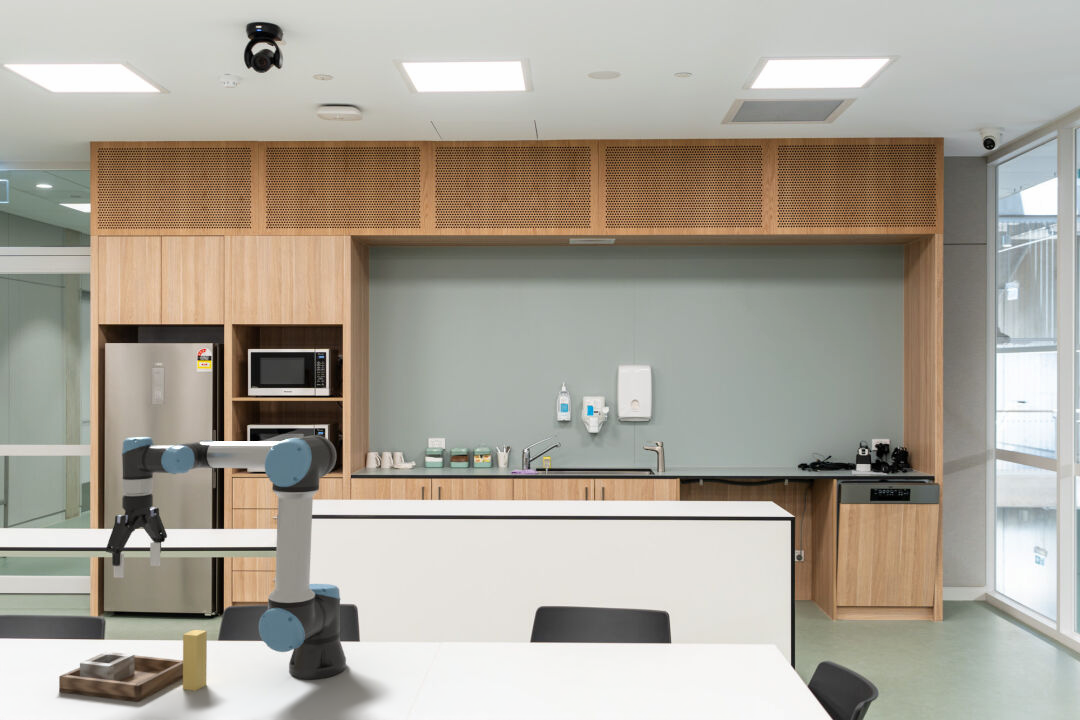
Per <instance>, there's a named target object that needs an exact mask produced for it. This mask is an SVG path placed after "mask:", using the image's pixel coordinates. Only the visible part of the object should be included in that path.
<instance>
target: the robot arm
mask: <svg viewBox="0 0 1080 720" xmlns="http://www.w3.org/2000/svg"><path fill="white" fill-rule="evenodd" d="M121 450H122V451H121V459H122V494H124V495H122V499H121V500H122V501H121V503H122V505H121V508H122V509H123V510H124V515H123V514H121V515H120V514H117V515H115V517H114V524H113V528H112V530H111V533H110V536H109V539H108V541H107V545H106V548H105V552H106V553H109V554H111V556H112V557H111V559H112V560H111V562H112V563H111V564H112V566H113V578H114V579H115V578H117V579H118V578H119V579H123V578H125V552H123V550H124V548H125V546H126V544H127V542H128V541H129V538H131V535H132V533H134V532H135V530H137V529H140V528H142V529H143V530H144V531H145V532H146V534H147V535H148V536H149V538H150V539H151V542H150V549H149V551H150V552H149V553H150V557H149V558H150V559H149V564H150V565H149V566H150V567H160V566H161V553H162V543H164V542H165V541H166V539H167V537H168V534H167V530H166V529H165V526H164V524H163V522H162V519H161V516H160V509H159V507H153V506H154V505H153V504H154V498H153V497H154V495H153V493H152V492H153V491H154V479H153V478H154V473H157V474H172V475H176V474H186V473H188V472H189V471H190V470H196V469H220V468H221V469H222V468H223V469H264V471H265V475H266V477H268V478H269V481H270V482H271V483H272V488H271V489H272V492H273V493H274V494H275V495H276V496H277V499H278V500H277V523H276V524H277V527H276V552H275V579H274V582H275V583H274V589H273V590H272V591H271V592H270V593H269V595H268V597H267V599H268V601H267V603H268V604H267V610H265V612H263V614H262V615H261V616H260V618H259V621H258V634H259V636H260V639H261V640H262V642H264V644H266V646H267V648H269V649H271V650H273V651H275V652H278V653H287V652H290V651H292V654H291V656H290V660H289V665H288V672H289V674H290V676H292V677H294V678H298V679H303V680H316V679H319V680H320V679H325V678H329V677H334V676H337V675H339V674H341V673H342V672H344V671H345V670H346V668H347V657H346V655H345V651H344V649H343V645H342V643H341V639H340V633H341V632H340V630H341V629H340V628H341V626H340V624H341V623H340V622H341V620H340V619H341V616H340V615H341V596H340V595H341V594H340V588H339V587H338V586H337V585H334V584H328V583H310V582H311V581H310V579H311V578H310V577H311V576H310V575H311V573H310V572H311V555H312V554H311V550H312V548H311V547H312V525H313V524H312V523H313V522H312V521H313V501H314V500H313V499H314V496H315V495H316V494H317V493H318V492H319V490H320V478H322V477H325V476H326V475H328V474H329V473H330V472H332V469H334V468H335V465H336V461H337V450H336V447H335V446H334V444H333V443H332V442H331V440H330V439H328V438H327V437H324V436H322V435H316V434H315V435H309V436H306V435H305V436H300V437H299V436H298V437H291V438H290V437H289V438H286V439H284V440H281V441H279V440H278V441H276V440H275V441H271V440H270V441H262V440H261V441H259V440H258V441H240V440H239V441H234V440H233V441H228V440H227V441H218V440H217V441H214V440H210V439H209V440H208V439H207V440H206V439H205V440H199V441H193V442H183V443H176V444H166V445H165V444H163V445H161V444H157V445H156V444H154V441H153V438H152V437H149V436H138V437H137V436H136V437H135V436H133V437H127V438H125V439H124V440H123V442H122V449H121Z"/></svg>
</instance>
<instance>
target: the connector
mask: <svg viewBox="0 0 1080 720" xmlns="http://www.w3.org/2000/svg"><path fill="white" fill-rule="evenodd" d="M207 633H208V632H207V630H199V629H192V630H190V631H188V632H186V633H183V635H182V636H183V637H182V660H183V678H182V689H183V690H188V691H198V690H200V689H201V688H203V687H205V686H207V665H208V664H207V661H208V660H207V656H208V655H207V654H208V653H207V652H208V651H207V649H208V648H207V643H208V641H207Z"/></svg>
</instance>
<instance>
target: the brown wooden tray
mask: <svg viewBox="0 0 1080 720" xmlns="http://www.w3.org/2000/svg"><path fill="white" fill-rule="evenodd" d="M180 680H183V659H182V660H181V659H172V658H163V657H155V656H154V657H153V656H145V655H136V654H132V653H122V652H112V651H105V652H102V653H100V654H98V655H95V656H93V657H90V658H89V659H86V660H83V661H81V662H80V663H79V667H78V668H75V669H73V670H70V671H68V672H65V673H63V674H61V675H60V676H59V677H58V681H59V682H58V683H59V685H58V687H59V689H58V690H59V691H58V692H59V693H63V694H73V695H79V696H88V697H95V698H102V699H103V698H104V699H112V700H120V701H128V702H135V703H136V702H137V703H139V702H141V701H143V700H145V699H146V698H149V697H150V696H153V695H154V694H156V693H158V692H160V691H161V690H163V689H166V688H167V687H169V686H171V685H173V684H175V683H176V682H178V681H180Z"/></svg>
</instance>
